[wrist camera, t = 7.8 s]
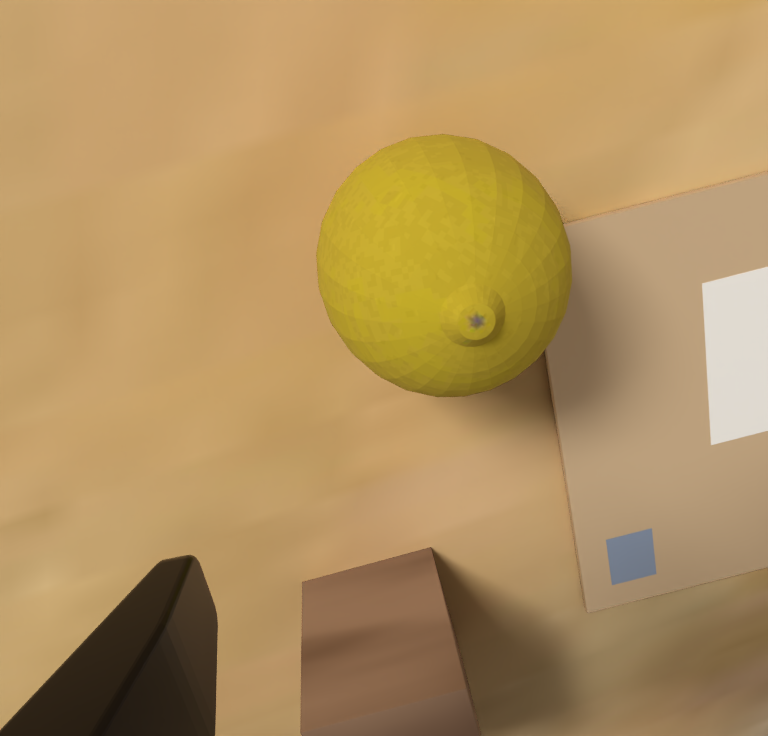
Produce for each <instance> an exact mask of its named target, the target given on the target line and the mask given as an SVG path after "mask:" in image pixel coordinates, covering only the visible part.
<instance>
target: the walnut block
mask: <svg viewBox="0 0 768 736" xmlns="http://www.w3.org/2000/svg"><path fill="white" fill-rule="evenodd" d="M300 733H301V735H302V736H482V735H481V731H480V727H479V723H478V720H477V716H476V712H475V708H474V704H473V700H472V696H471V692H470V688H469V684H468V680H467V676H466V673H465V669H464V665H463V661H462V657H461V653H460V649H459V645H458V642H457V638H456V634H455V631H454V627H453V624H452V620H451V617H450V613H449V610H448V606H447V603H446V599H445V595H444V592H443V588H442V585H441V581H440V578H439V574H438V571H437V567H436V564H435V560H434V556H433V553H432V549H431V547H430V548H426V549H423V550H419V551H415V552H411V553H408V554H404V555H400V556H397V557H393V558H389V559H386V560H382V561H378V562H375V563H371V564H367V565H363V566H360V567H356V568H352V569H349V570H345V571H341V572H338V573H334V574H330V575H327V576H323V577H319V578H315V579H312V580H308V581H304V582H302V645H301V730H300Z"/></svg>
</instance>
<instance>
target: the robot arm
mask: <svg viewBox="0 0 768 736" xmlns="http://www.w3.org/2000/svg"><path fill="white" fill-rule="evenodd" d="M217 633H218V622H217V613H216V608H215V605H214V602H213V599H212V596H211V593H210V590H209V588H208V585H207V582H206V579H205V577H204V574H203V571H202V568H201V566H200V563H199V561H198V560H197V558H196V557H194V556H192V555H185V556H180V557H175V558H170V559H165V560H162V561H160V562H159V563H158V564H156V565H155V566H154V567H153V569H152V570H151V571H150V572H149V573H148V574H147V575H146V576H145V577H144V578H143V579H142V580H141V581H140V582H139V583H138V584H137V586H136V587H135V588H134V589H133V590H132V591H131V592H130V593H129V594H128V595H127V596H126V597H125V598H124V599H123V600H122V601H121V603H120V604H119V605H118V606H117V607H116V608H115V609H114V610H113V611H112V612H111V613H110V614H109V615H108V616H107V617H106V618H105V619H104V621H103V622H102V623H101V624H100V625H99V626H98V627H97V628H96V629H95V630H94V631H93V632H92V633H91V634H90V635H89V636H88V638H87V639H86V640H85V641H84V642H83V643H82V644H81V645H80V646H79V647H78V648H77V649H76V650H75V651H74V652H73V653H72V654H71V656H70V657H69V658H68V659H67V660H66V661H65V662H64V663H63V664H62V665H61V666H60V667H59V668H58V669H57V670H56V671H55V673H54V674H53V675H52V676H51V677H50V678H49V679H48V680H47V681H46V682H45V683H44V684H43V685H42V686H41V687H40V688H39V690H38V691H37V692H36V693H35V694H34V695H33V696H32V697H31V698H30V699H29V700H28V701H27V702H26V703H25V704H24V705H23V706H22V708H21V709H20V710H19V711H18V712H17V713H16V714H15V715H14V716H13V717H12V718H11V719H10V720H9V721H8V722H7V723H6V725H5V726H4V727H3V728H2V729H1V730H0V736H215V720H216V676H217Z"/></svg>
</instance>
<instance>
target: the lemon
mask: <svg viewBox="0 0 768 736" xmlns="http://www.w3.org/2000/svg"><path fill="white" fill-rule="evenodd" d="M316 257H317V271H318V284H319V290H320V293H321V296H322V299H323V302H324V305H325V308H326V311H327V314H328V317H329V319H330V321H331V323H332V325H333V327H334V328H335V329H336V331H337V332H338V334H339V335H340V337H341V338H342V340H343V341H344V343H345V344H346V346H347V347H348V349H349V350H350V351H351V352H352V353H353V354H354V355H355V356H356V357H357V358H358V359H359V360H360V361H362V362H363V363H364V364H365V365H366V366H367V367H368V368H370V369H371V370H372V371H373V372H374V373H375V374H377V375H378V376H380V377H381V378H383V379H385V380H387V381H389V382H391V383H393V384H395V385H397V386H399V387H401V388H403V389H405V390H408V391H412V392H417V393H422V394H426V395H431V396H435V397H458V396H468V395H472V394H476V393H480V392H484V391H488V390H491V389H493V388H495V387H497V386H499V385H501V384H503V383H505V382H507V381H509V380H511V379H513V378H515V377H517V376H518V375H519V374H520V373H521V372H523V371H524V370H525V369H526V368H528V367H529V366H530V365H531V364H532V363H534V362H535V361H536V360H537V359H538V358H539V356H540V355H541V354H542V353H543V351H544V350H545V349H546V348H547V346H548V345H549V344H550V342H551V341H552V340H553V339H554V337H555V335H556V333H557V331H558V328H559V326H560V324H561V322H562V320H563V318H564V315H565V313H566V310H567V305H568V300H569V295H570V290H571V285H572V265H571V249H570V243H569V240H568V237H567V234H566V231H565V228H564V225H563V222H562V219H561V216H560V213H559V211H558V209H557V207H556V205H555V204H554V202H553V201H552V199H551V198H550V196H549V195H548V193H547V192H546V190H545V189H544V187H543V186H542V185H541V183H540V182H539V180H538V179H537V178H536V177H535V176H534V175H533V174H532V173H531V172H530V171H528V170H527V169H526V168H525V167H524V166H522V165H521V164H520V163H519V162H518V161H517V160H515V159H514V158H513V157H512V156H511V155H509V154H508V153H506V152H504V151H501V150H499V149H497V148H495V147H493V146H491V145H488V144H486V143H484V142H482V141H480V140H477V139H473V138H466V137H459V136H453V135H446V134H440V135H431V136H422V137H413V138H409V139H406V140H403V141H401V142H398V143H396V144H393V145H391V146H388V147H385V148H383V149H381V150H379V151H378V152H377V153H375V154H374V155H373V156H371V157H370V158H368V159H367V160H366V161H364V162H363V163H362V164H360V165H359V166H358V167H356V168H355V169H354V171H353V172H352V173H351V174H350V176H349V177H348V178H347V179H346V180H345V182H344V183H343V184H342V185H341V186H340V188H339V189H338V190H337V191H336V193H335V195H334V198H333V200H332V202H331V204H330V206H329V208H328V210H327V212H326V214H325V217H324V219H323V221H322V225H321V231H320V236H319V242H318V247H317V255H316Z"/></svg>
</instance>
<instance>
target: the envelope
mask: <svg viewBox="0 0 768 736" xmlns="http://www.w3.org/2000/svg"><path fill="white" fill-rule="evenodd" d="M563 225H564V228H565V231H566V234H567V237H568V240H569V243H570V249H571V265H572V285H571V290H570V295H569V300H568V305H567V310H566V313H565V315H564V318H563V320H562V322H561V324H560V326H559V328H558V331H557V333H556V335H555V337H554V339H553V340H552V341H551V342H550V344H549V345H548V346H547V348H546V349H545V350H544V352H545V358H546V364H547V371H548V377H549V384H550V390H551V396H552V403H553V409H554V416H555V422H556V428H557V435H558V441H559V447H560V454H561V460H562V467H563V473H564V479H565V486H566V492H567V499H568V505H569V511H570V518H571V524H572V531H573V537H574V543H575V550H576V556H577V562H578V569H579V575H580V582H581V588H582V594H583V601H584V607H585V609H586V611H587V613H591V612H595V611H599V610H603V609H607V608H611V607H614V606H618V605H622V604H626V603H630V602H634V601H638V600H642V599H646V598H650V597H654V596H658V595H662V594H665V593H669V592H673V591H677V590H681V589H685V588H689V587H693V586H697V585H701V584H705V583H709V582H713V581H716V580H720V579H724V578H728V577H732V576H736V575H740V574H744V573H748V572H752V571H756V570H760V569H764V568H767V567H768V171H767V172H763V173H759V174H755V175H751V176H748V177H744V178H740V179H736V180H732V181H728V182H724V183H720V184H717V185H713V186H709V187H705V188H701V189H697V190H693V191H689V192H685V193H682V194H678V195H674V196H670V197H666V198H662V199H658V200H654V201H651V202H647V203H643V204H639V205H635V206H631V207H627V208H623V209H620V210H616V211H612V212H608V213H604V214H600V215H596V216H592V217H588V218H585V219H581V220H577V221H573V222H569V223H565V224H563Z"/></svg>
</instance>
